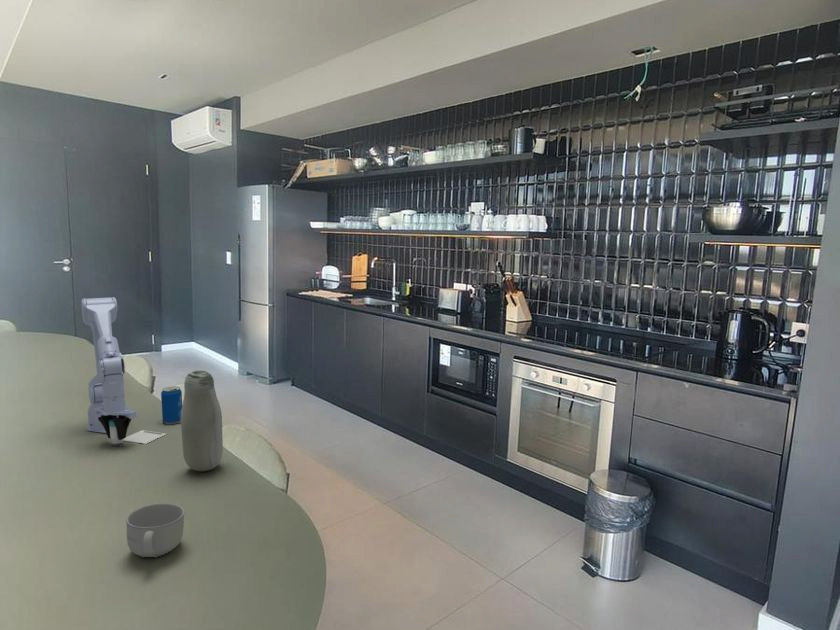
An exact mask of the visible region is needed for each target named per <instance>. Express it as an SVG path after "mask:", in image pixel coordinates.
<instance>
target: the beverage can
mask: <svg viewBox="0 0 840 630" xmlns="http://www.w3.org/2000/svg"><path fill="white" fill-rule="evenodd" d="M161 389H162V390H161V392H160V398H161V415H162V416H161V418H162V422H163V423H165V425H176V424H179V423H181V410H182V405H183V392H182V391H183V390H182V389H181V387H180V386H166V387H164V388H161Z"/></svg>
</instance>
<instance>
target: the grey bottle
mask: <svg viewBox="0 0 840 630" xmlns="http://www.w3.org/2000/svg"><path fill="white" fill-rule="evenodd" d="M214 381H215V379H214V377H213V375H212V374H211V373H209V371H206V370H193V371H191V372H189V373H188V374H187V375H186V377H185V378H184V382H183V384H184V385H183V387H184V394H183V399H182V410H181V422H180V429H181V442H182V454H183V456H182V457H183V459H184V462H185V464H186V465H187V466H188V467H189V468H190V469H191V470H193V471H196V472H207V471H211V470H213V469H215V468H217V466H218V465H219V464H220V462H221V459H222V456H223V450H224V447H223V444H224V443H223V442H224V441H223V440H224V439H223V414H222V409H221V405H220V402H219V399H218V397H217V392H216V389H215V382H214Z"/></svg>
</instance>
